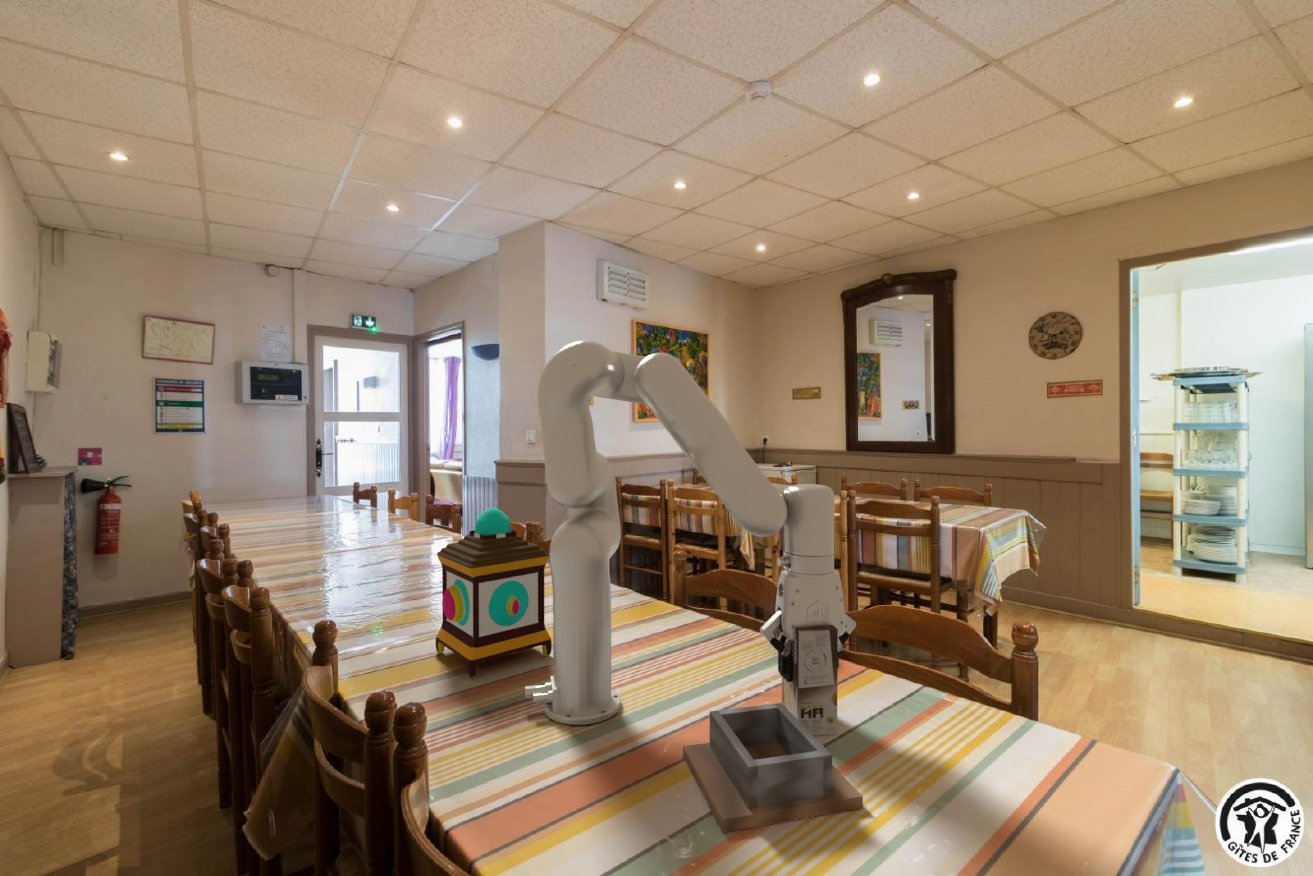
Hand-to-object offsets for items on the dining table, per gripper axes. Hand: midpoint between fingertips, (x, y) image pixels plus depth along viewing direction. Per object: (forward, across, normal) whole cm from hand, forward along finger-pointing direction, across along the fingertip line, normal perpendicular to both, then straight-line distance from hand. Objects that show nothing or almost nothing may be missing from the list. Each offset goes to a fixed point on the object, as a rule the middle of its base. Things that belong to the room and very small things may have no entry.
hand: (808, 675), depth 93 cm
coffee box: (+8, 0, 0) cm, 8 cm away
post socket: (+7, -13, -13) cm, 20 cm away
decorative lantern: (+8, -49, +40) cm, 64 cm away
